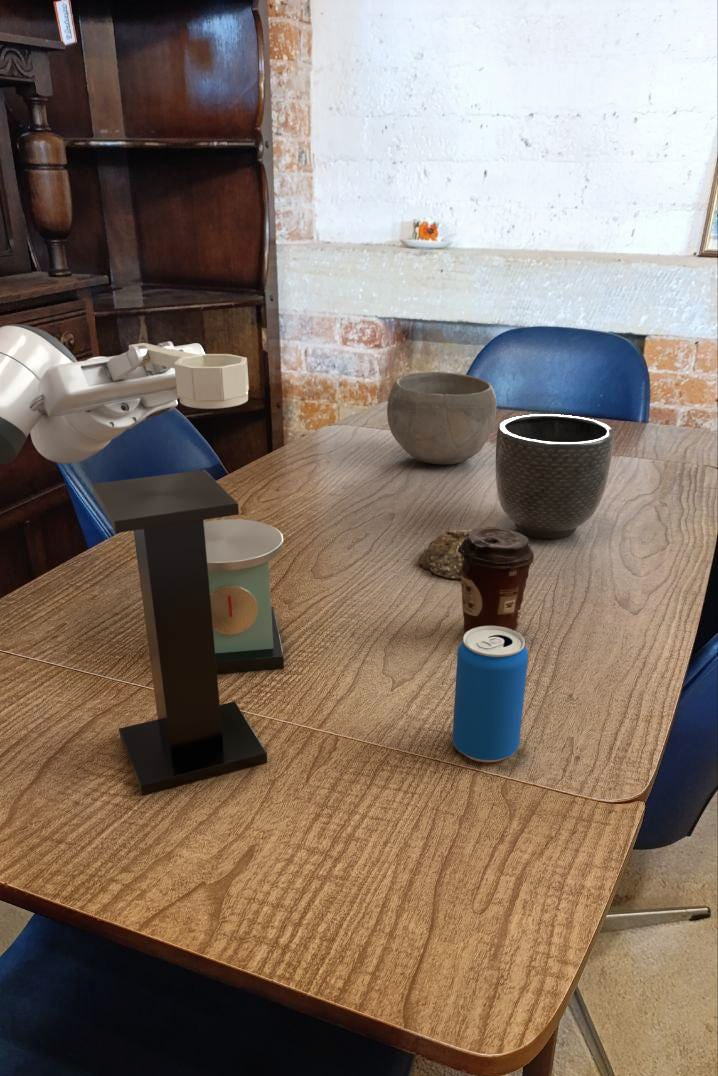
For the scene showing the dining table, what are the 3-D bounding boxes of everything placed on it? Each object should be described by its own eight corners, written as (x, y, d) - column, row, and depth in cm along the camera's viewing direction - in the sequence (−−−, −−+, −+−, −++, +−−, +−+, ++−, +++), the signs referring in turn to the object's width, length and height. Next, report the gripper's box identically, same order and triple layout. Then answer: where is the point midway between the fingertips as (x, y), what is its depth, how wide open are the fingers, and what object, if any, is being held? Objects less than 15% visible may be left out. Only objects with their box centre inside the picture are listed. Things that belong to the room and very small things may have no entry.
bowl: (510, 470, 165) (516, 389, 158) (404, 479, 160) (406, 396, 153) (469, 440, 183) (473, 366, 175) (373, 448, 178) (373, 372, 171)
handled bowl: (113, 385, 97) (108, 348, 95) (166, 375, 101) (162, 339, 99) (207, 412, 86) (204, 370, 84) (262, 400, 91) (259, 360, 89)
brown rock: (515, 553, 129) (518, 522, 127) (500, 587, 119) (503, 553, 116) (430, 543, 133) (431, 512, 130) (409, 575, 122) (410, 542, 120)
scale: (177, 624, 109) (166, 522, 103) (282, 617, 111) (277, 516, 104) (176, 677, 98) (164, 566, 91) (292, 667, 100) (288, 558, 93)
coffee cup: (457, 653, 103) (463, 550, 96) (448, 621, 110) (453, 523, 104) (531, 652, 103) (542, 549, 97) (517, 620, 110) (527, 522, 104)
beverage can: (532, 753, 85) (544, 645, 79) (480, 775, 82) (489, 664, 76) (489, 722, 90) (498, 617, 84) (438, 741, 87) (444, 634, 81)
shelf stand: (119, 735, 88) (80, 485, 75) (234, 708, 92) (215, 468, 80) (142, 795, 79) (102, 525, 67) (267, 762, 84) (252, 503, 71)
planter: (472, 516, 143) (478, 418, 135) (566, 505, 147) (577, 410, 140) (520, 556, 128) (530, 448, 121) (623, 542, 133) (639, 438, 125)
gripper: (13, 385, 98) (56, 334, 88) (165, 360, 111) (219, 312, 101) (35, 438, 99) (81, 394, 89) (183, 407, 112) (239, 365, 101)
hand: (156, 350), depth 95 cm, fingers closed on handled bowl, 2 cm apart
